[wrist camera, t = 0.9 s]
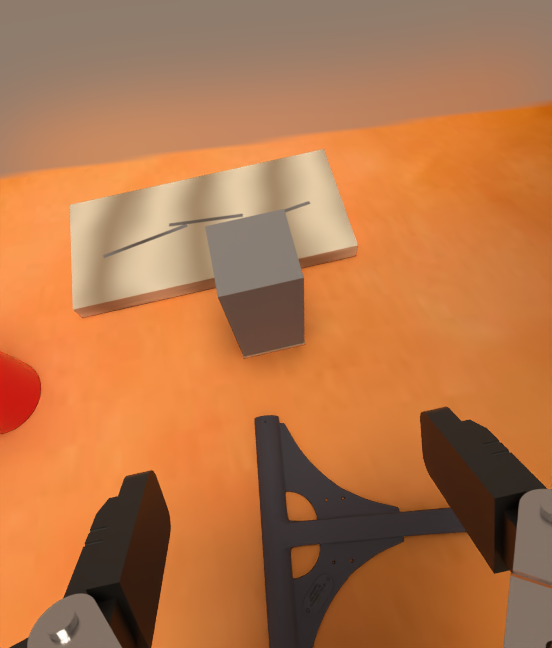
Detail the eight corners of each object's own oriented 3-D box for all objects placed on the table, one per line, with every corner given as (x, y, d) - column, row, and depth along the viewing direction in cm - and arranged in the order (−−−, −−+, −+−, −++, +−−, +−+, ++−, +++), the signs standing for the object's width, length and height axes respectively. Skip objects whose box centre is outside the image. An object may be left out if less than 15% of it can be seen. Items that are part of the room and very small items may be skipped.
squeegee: (537, 654, 23) (565, 673, 21) (272, 676, 24) (268, 697, 21) (468, 400, 29) (483, 390, 27) (256, 421, 30) (251, 413, 27)
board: (323, 162, 37) (323, 148, 36) (355, 255, 33) (358, 245, 32) (78, 216, 37) (69, 204, 35) (82, 317, 33) (72, 309, 31)
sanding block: (290, 290, 33) (284, 207, 23) (305, 344, 31) (304, 278, 22) (232, 303, 32) (203, 225, 23) (243, 358, 31) (217, 298, 21)
